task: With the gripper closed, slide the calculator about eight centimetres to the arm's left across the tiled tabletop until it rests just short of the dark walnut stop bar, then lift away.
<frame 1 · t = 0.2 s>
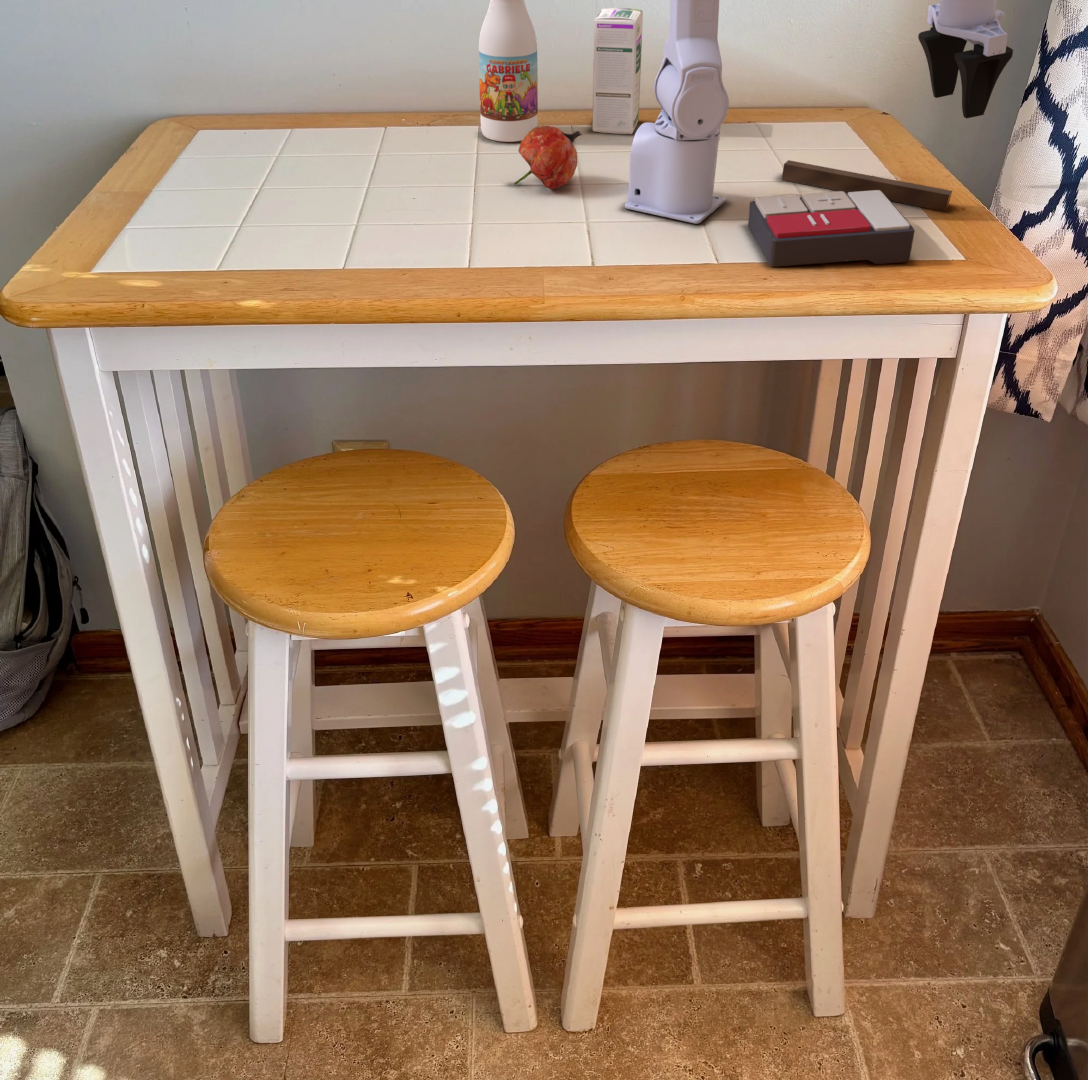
hand: (957, 105, 119), 10 cm above the table, tool pointing down, fingers open, 7 cm apart
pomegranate: (546, 187, 128), on the table
syrup box: (614, 128, 145), on the table
milk bottle: (509, 135, 143), on the table
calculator: (824, 246, 114), on the table
stop bar: (862, 193, 126), on the table
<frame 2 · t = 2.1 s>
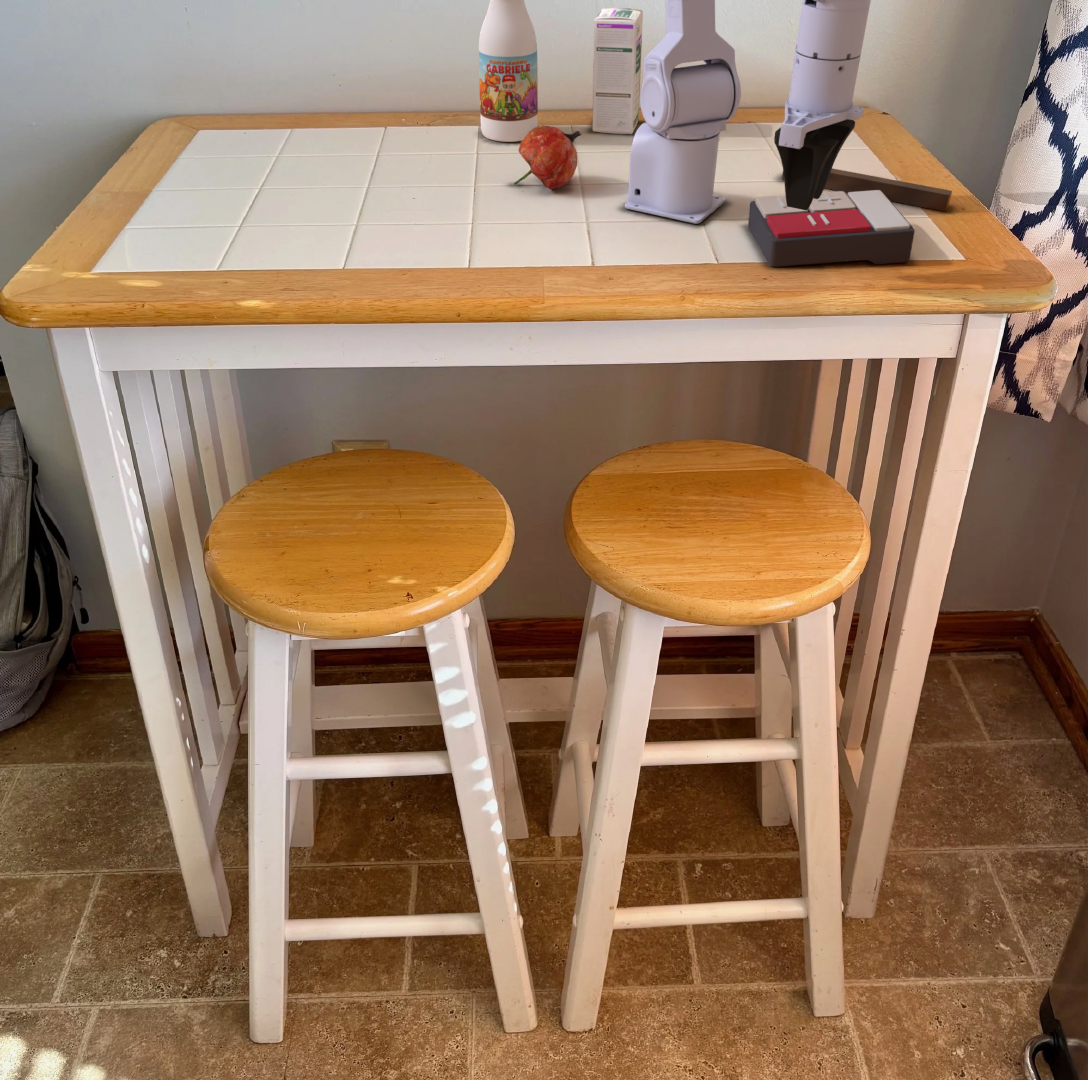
hand: (803, 201, 102), 8 cm above the table, tool pointing down, fingers open, 3 cm apart
nothing on the table moved.
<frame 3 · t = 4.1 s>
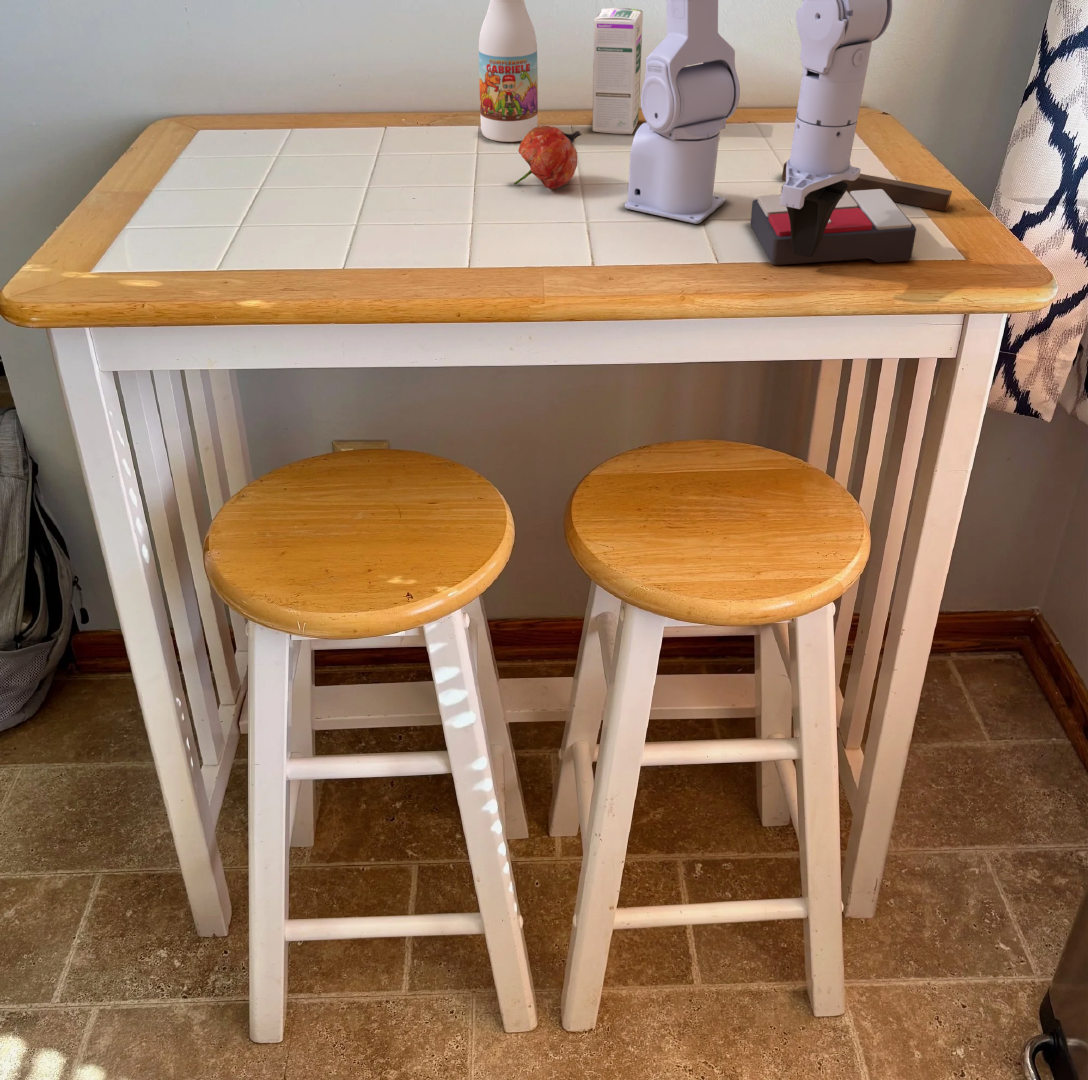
hand: (803, 253, 108), 2 cm above the table, tool pointing down, fingers closed
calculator: (826, 244, 115), on the table, touching gripper
everything else where it was.
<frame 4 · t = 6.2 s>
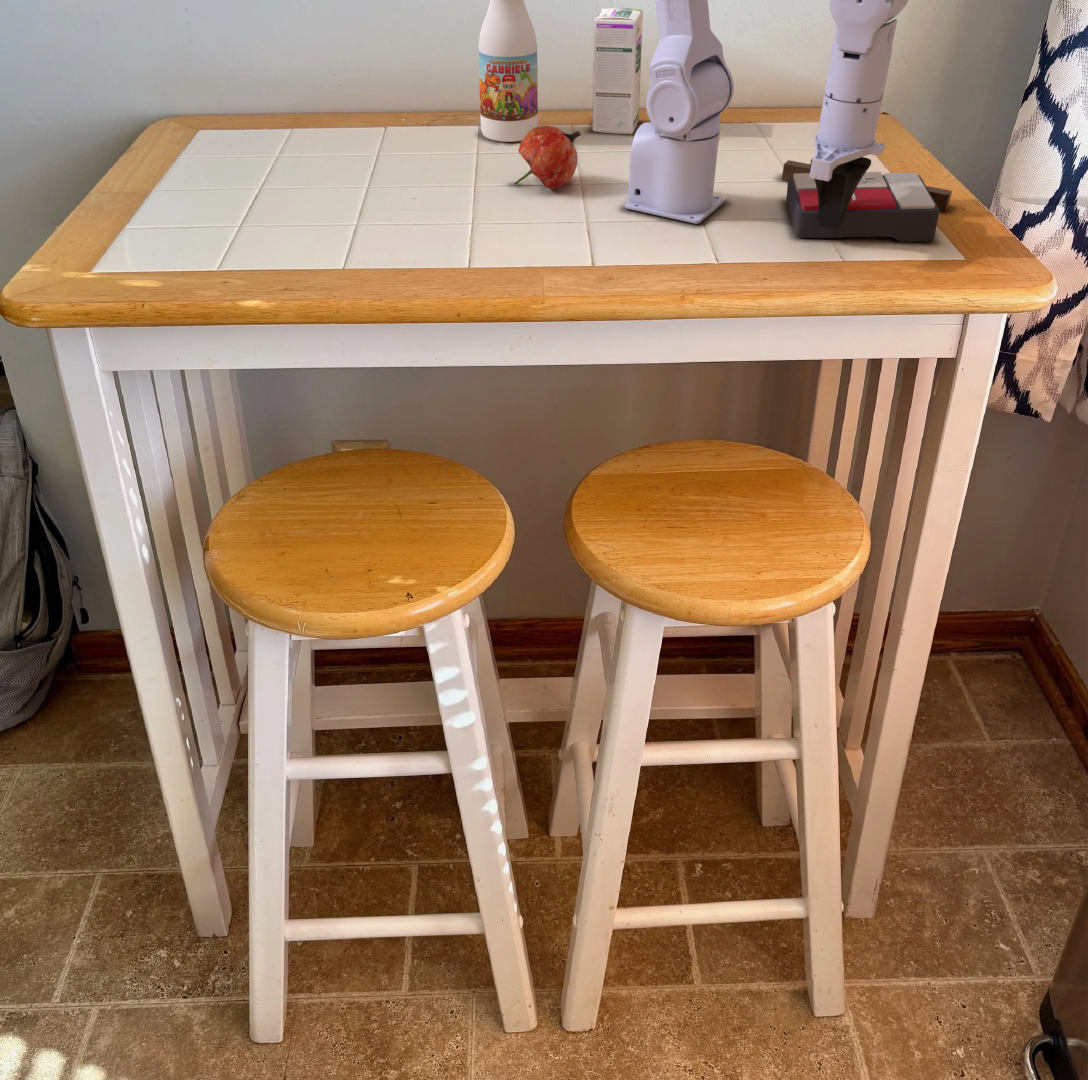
hand: (829, 226, 113), 2 cm above the table, tool pointing down, fingers closed, pressing on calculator
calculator: (855, 223, 119), on the table, touching gripper, stop bar
everything else where it was.
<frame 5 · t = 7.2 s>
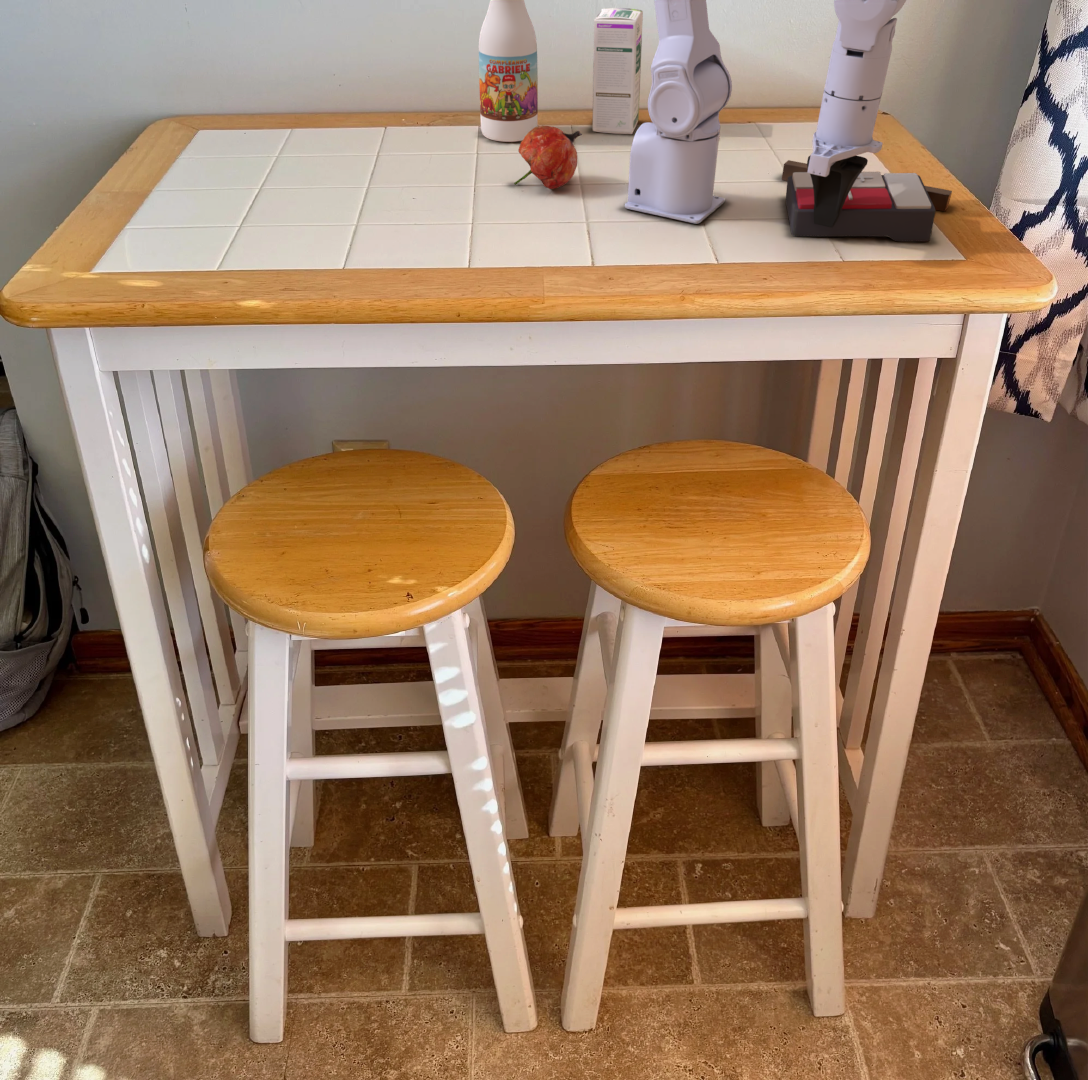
hand: (825, 223, 114), 2 cm above the table, tool pointing down, fingers closed, pressing on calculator
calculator: (853, 222, 120), on the table, touching gripper, stop bar
everything else where it was.
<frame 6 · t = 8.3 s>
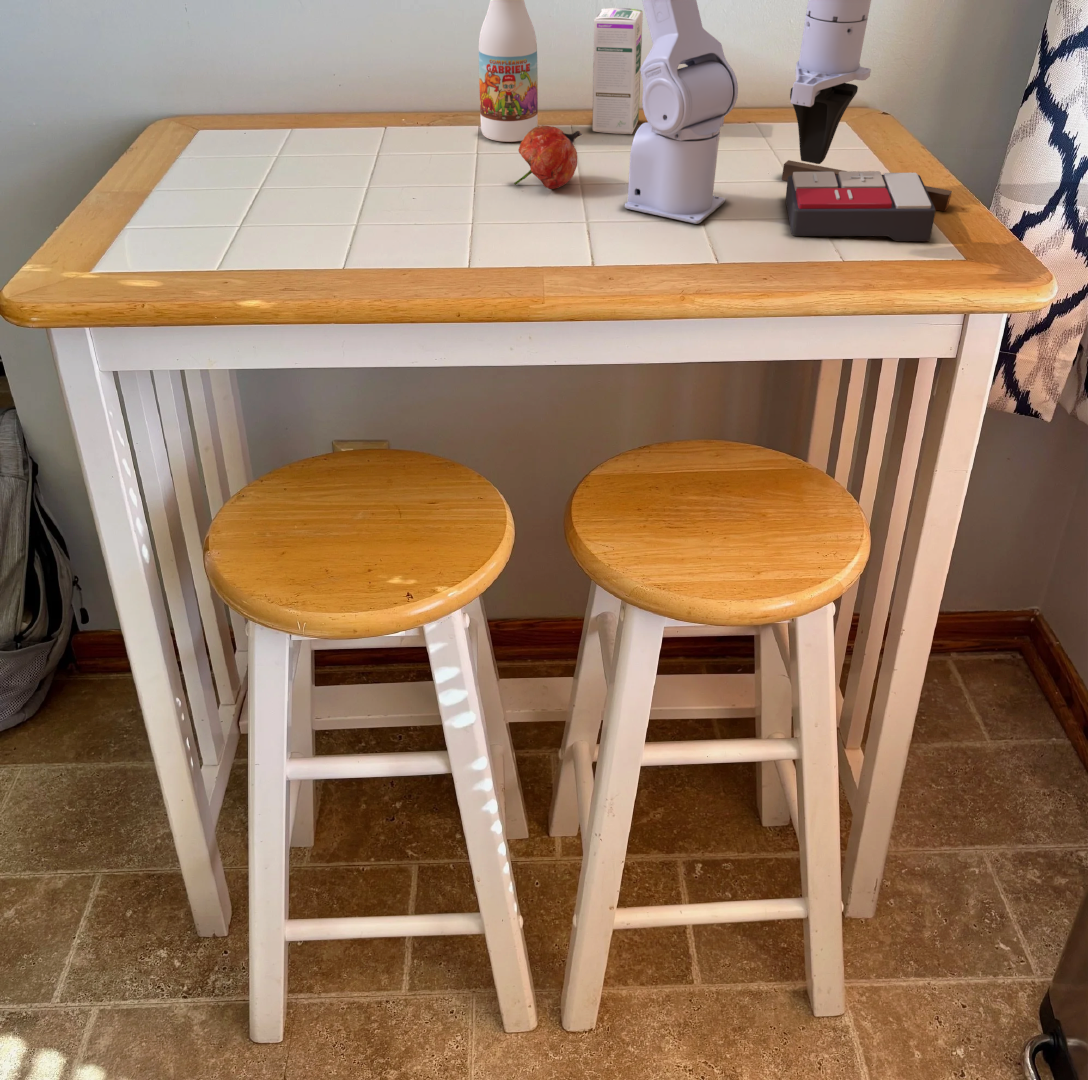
hand: (812, 160, 107), 10 cm above the table, tool pointing down, fingers closed
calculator: (853, 222, 120), on the table
everything else where it was.
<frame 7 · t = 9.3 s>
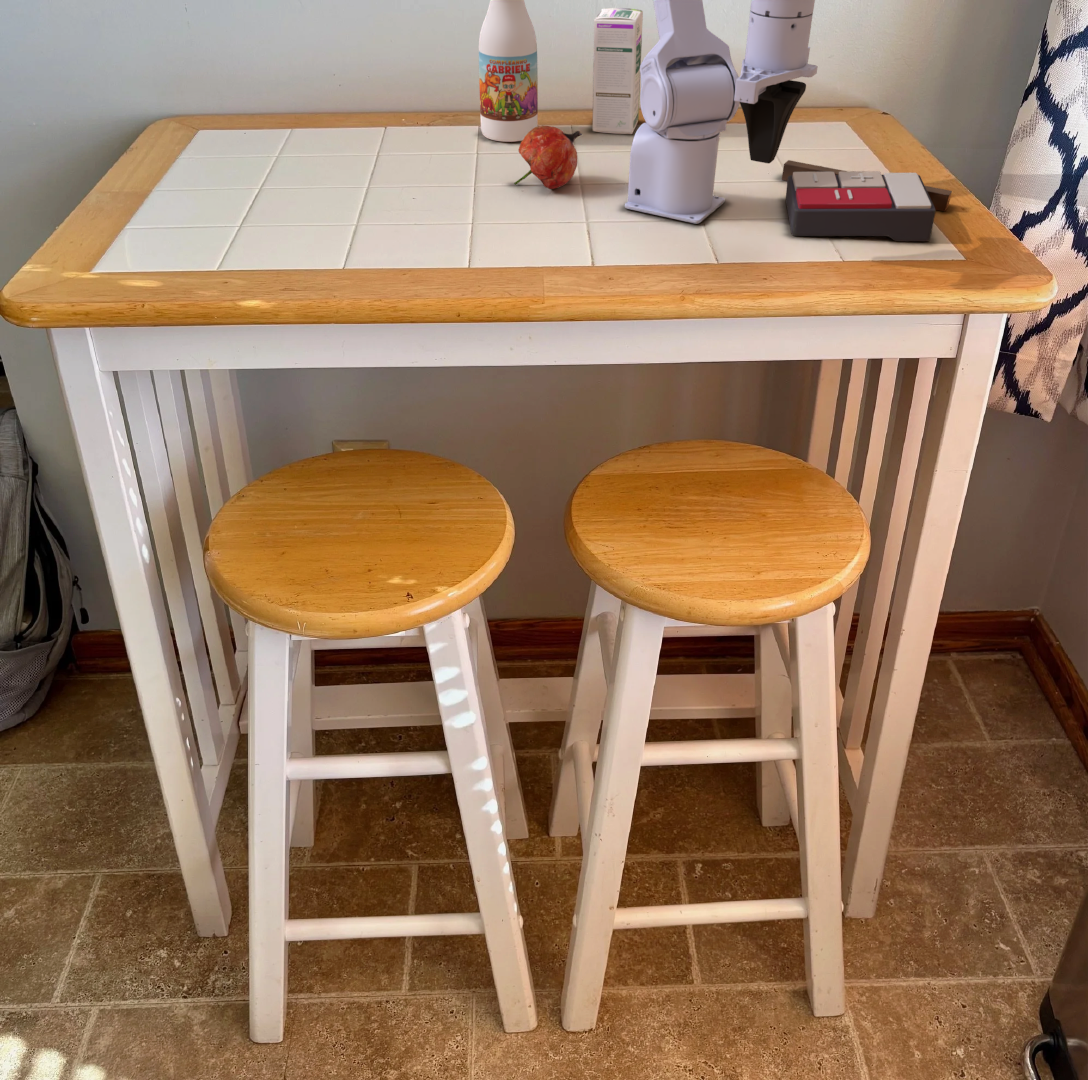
hand: (762, 160, 105), 10 cm above the table, tool pointing down, fingers closed
nothing on the table moved.
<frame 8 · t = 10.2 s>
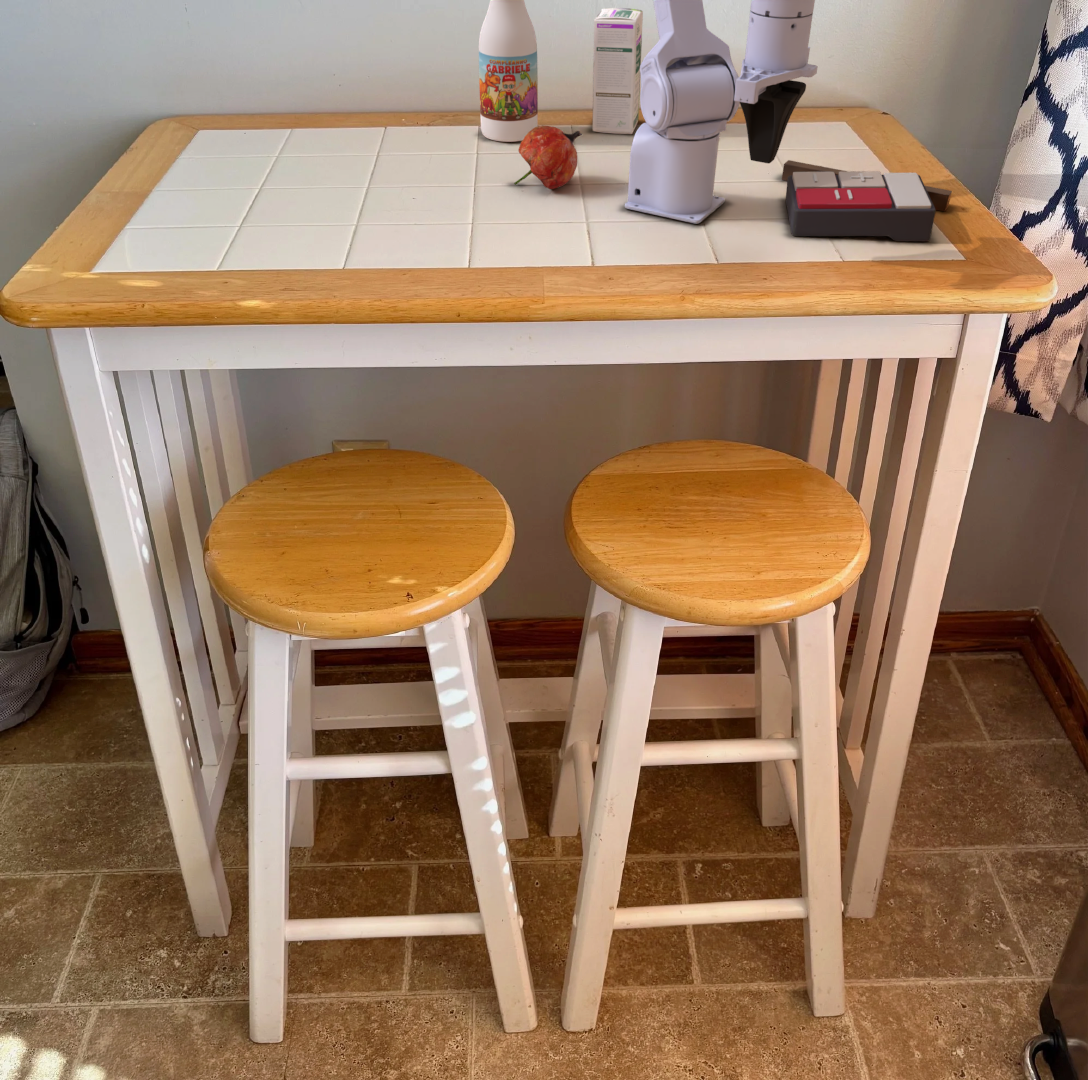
hand: (762, 160, 105), 10 cm above the table, tool pointing down, fingers closed
nothing on the table moved.
at the end: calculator inside the target area (1.5 cm from its centre), on the table; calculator moved 8.2 cm from its start; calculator tilted 0° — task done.
